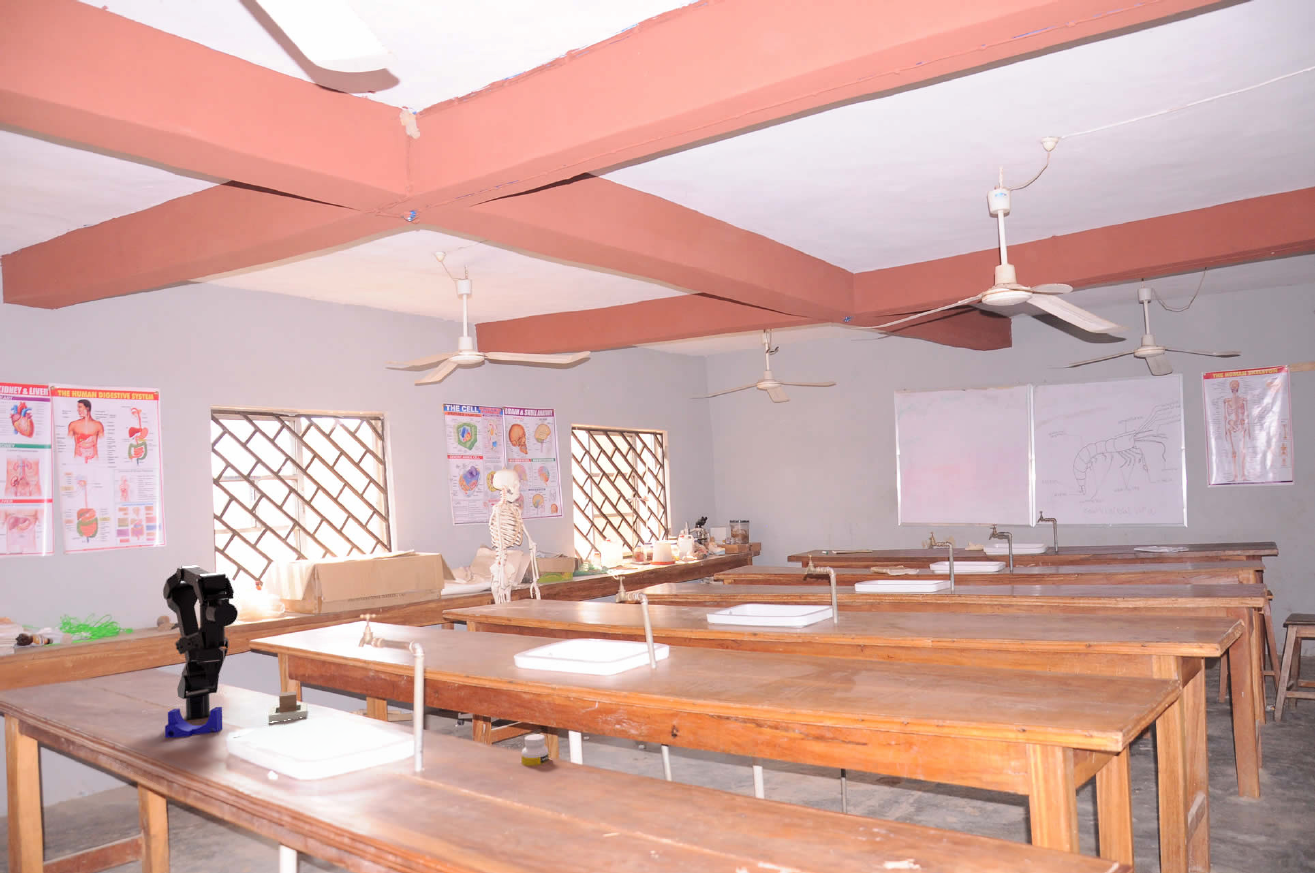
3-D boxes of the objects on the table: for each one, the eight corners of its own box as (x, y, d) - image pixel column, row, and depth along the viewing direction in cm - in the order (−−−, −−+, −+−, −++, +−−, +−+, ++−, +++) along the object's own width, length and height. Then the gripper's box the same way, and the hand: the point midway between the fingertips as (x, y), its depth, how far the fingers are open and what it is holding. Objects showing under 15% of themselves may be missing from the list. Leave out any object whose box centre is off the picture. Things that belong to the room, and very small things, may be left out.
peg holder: (270, 718, 238) (270, 706, 238) (307, 713, 241) (306, 702, 241) (268, 727, 230) (268, 715, 230) (306, 722, 233) (306, 710, 233)
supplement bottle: (544, 791, 178) (542, 741, 178) (518, 790, 179) (516, 740, 179) (553, 781, 183) (551, 733, 184) (527, 780, 185) (526, 732, 185)
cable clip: (165, 738, 224) (164, 713, 224) (174, 732, 229) (173, 708, 229) (214, 735, 225) (213, 711, 225) (222, 730, 229) (221, 706, 229)
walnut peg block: (280, 719, 237) (280, 692, 237) (297, 717, 238) (296, 690, 238) (280, 723, 233) (279, 696, 233) (296, 721, 234) (295, 694, 234)
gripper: (182, 618, 240) (183, 677, 240) (172, 630, 223) (173, 694, 222) (228, 615, 244) (229, 673, 244) (222, 626, 227) (223, 688, 227)
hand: (213, 682), depth 234 cm, fingers open, 9 cm apart
